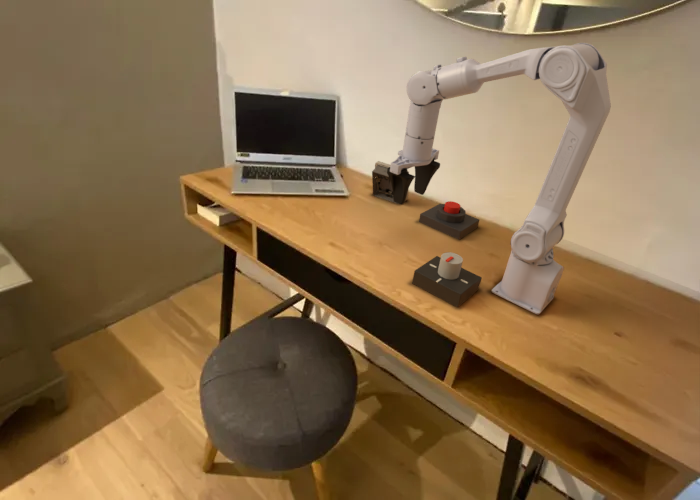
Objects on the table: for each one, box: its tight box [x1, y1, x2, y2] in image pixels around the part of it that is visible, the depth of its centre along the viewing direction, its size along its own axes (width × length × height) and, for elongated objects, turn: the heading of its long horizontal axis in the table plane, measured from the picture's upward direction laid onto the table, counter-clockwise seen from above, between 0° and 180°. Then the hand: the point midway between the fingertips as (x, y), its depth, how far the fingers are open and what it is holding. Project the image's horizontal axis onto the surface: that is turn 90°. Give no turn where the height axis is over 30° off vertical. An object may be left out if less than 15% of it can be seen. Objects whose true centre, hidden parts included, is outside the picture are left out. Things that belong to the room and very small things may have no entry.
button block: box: [418, 203, 480, 240], centre depth 112 cm, size 11×9×4 cm
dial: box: [438, 251, 464, 280], centre depth 88 cm, size 4×4×4 cm
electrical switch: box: [371, 160, 410, 205], centre depth 120 cm, size 9×5×9 cm, turn 57°
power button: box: [444, 200, 462, 214], centre depth 110 cm, size 4×4×2 cm
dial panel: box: [411, 255, 482, 308], centre depth 90 cm, size 10×8×3 cm
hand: (409, 197), depth 100 cm, fingers open, 7 cm apart
